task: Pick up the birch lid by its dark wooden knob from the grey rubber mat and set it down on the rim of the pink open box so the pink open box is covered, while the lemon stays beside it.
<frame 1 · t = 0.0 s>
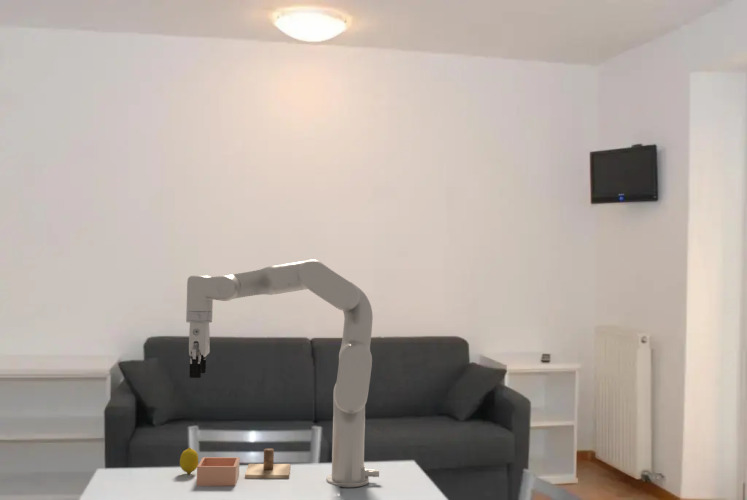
hand: (197, 375, 235), 31 cm above the table, tool pointing down, fingers open, 9 cm apart
pink open box: (218, 482, 234), on the table
lid: (268, 472, 244), point 1 cm above the table, touching mat
lemon: (188, 474, 242), on the table
mat: (268, 474, 244), on the table
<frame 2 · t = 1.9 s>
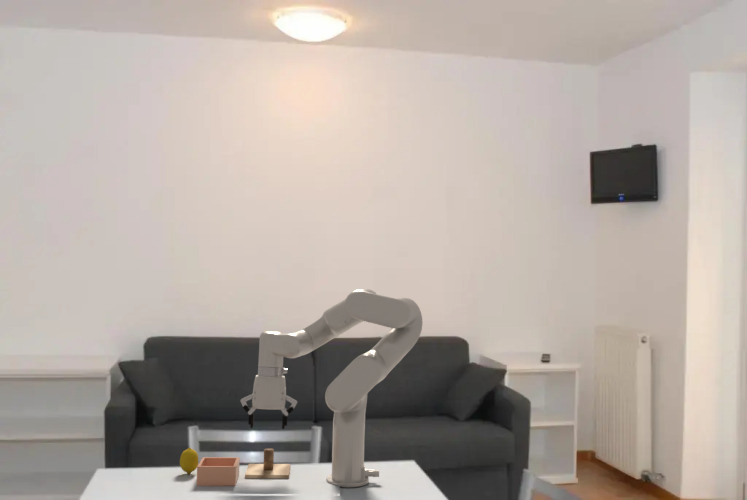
hand: (267, 427, 244), 14 cm above the table, tool pointing down, fingers open, 9 cm apart
nothing on the table moved.
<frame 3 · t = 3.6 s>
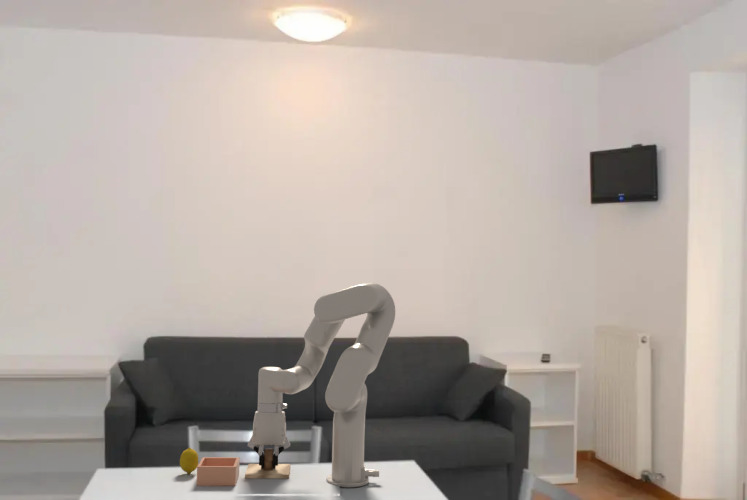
hand: (268, 467, 244), 2 cm above the table, tool pointing down, fingers closed on lid, 3 cm apart
lid: (268, 472, 244), point 1 cm above the table, touching gripper, mat
everything else where it was.
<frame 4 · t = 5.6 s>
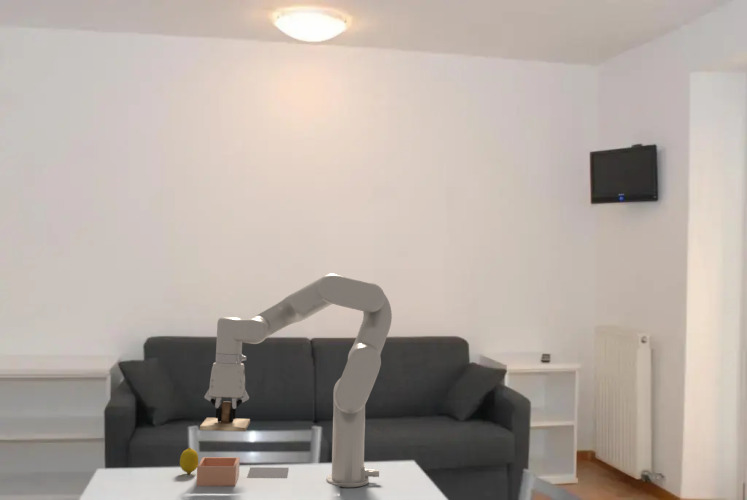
hand: (225, 420, 235), 18 cm above the table, tool pointing down, fingers closed on lid, 3 cm apart
lid: (225, 425, 236), point 16 cm above the table, touching gripper
everything else where it was.
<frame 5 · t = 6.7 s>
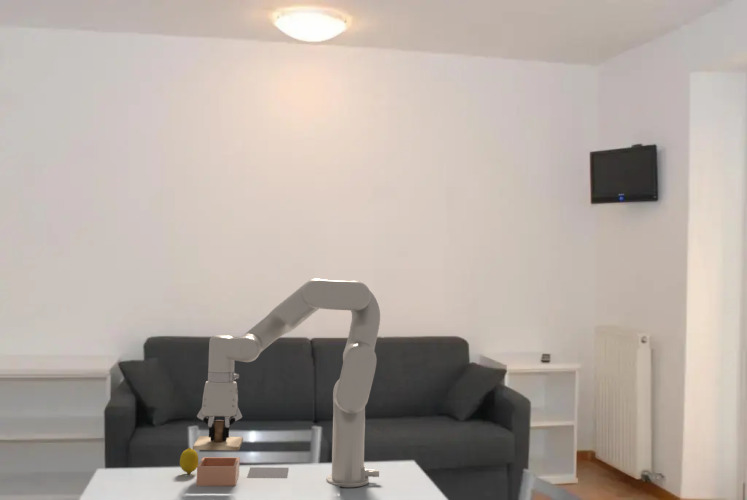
hand: (218, 439, 234), 13 cm above the table, tool pointing down, fingers closed on lid, 3 cm apart
lid: (218, 444, 234), point 11 cm above the table, touching gripper
everything else where it was.
when the fingers open (9 cm above the table, at t = 7.5 s): lid drops 1 cm, resting on pink open box.
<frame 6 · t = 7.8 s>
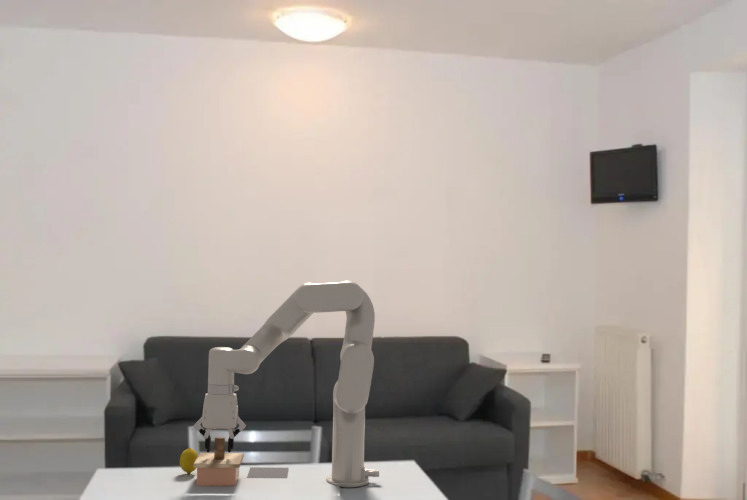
hand: (219, 450, 234), 9 cm above the table, tool pointing down, fingers open, 5 cm apart
lid: (219, 461, 234), point 6 cm above the table, touching pink open box
everything else where it was.
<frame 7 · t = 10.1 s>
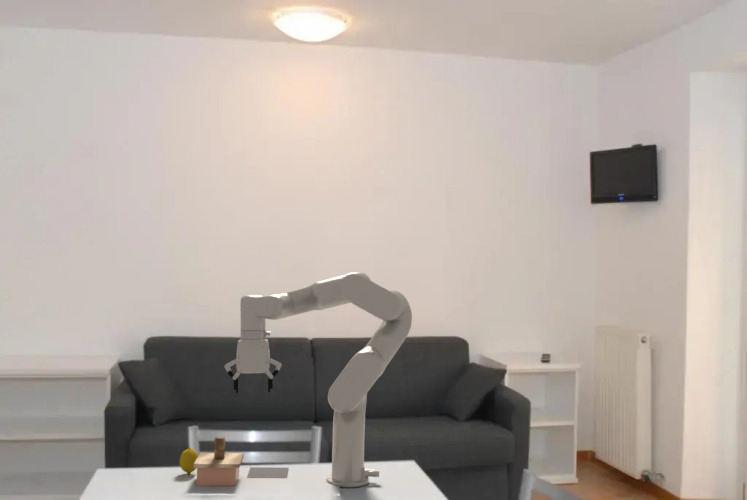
hand: (253, 391, 243), 25 cm above the table, tool pointing down, fingers open, 9 cm apart
nothing on the table moved.
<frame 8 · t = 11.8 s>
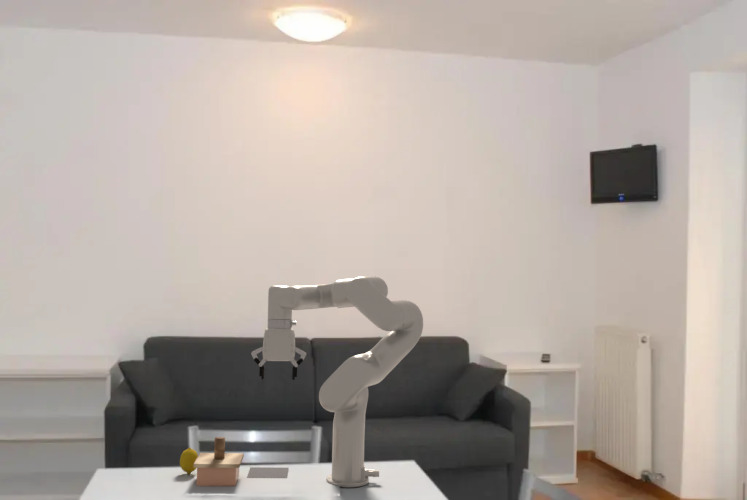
hand: (278, 379, 250), 28 cm above the table, tool pointing down, fingers open, 9 cm apart
nothing on the table moved.
at the end: lid 0.1 cm off-centre on the pink open box, point 6.0 cm above the pink open box's base; lid tilted 0°; the gripper is holding nothing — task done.
